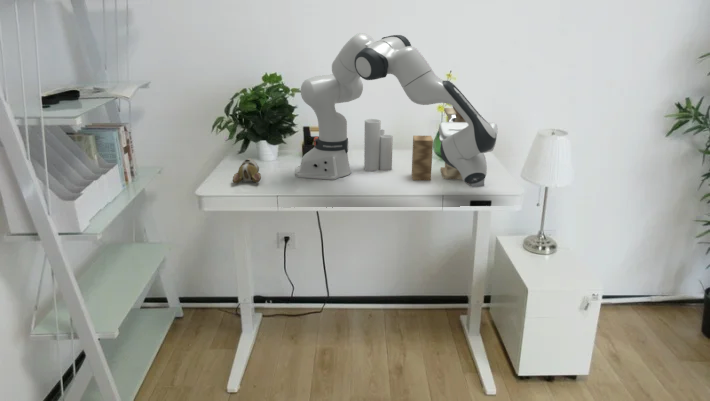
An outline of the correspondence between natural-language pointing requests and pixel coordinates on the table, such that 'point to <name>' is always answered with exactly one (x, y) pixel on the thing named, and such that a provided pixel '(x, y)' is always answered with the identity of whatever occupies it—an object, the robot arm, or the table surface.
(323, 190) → the table surface
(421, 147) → the oak post
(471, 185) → the grey block
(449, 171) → the birch stand
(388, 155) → the vase
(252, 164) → the ceramic sculpture
